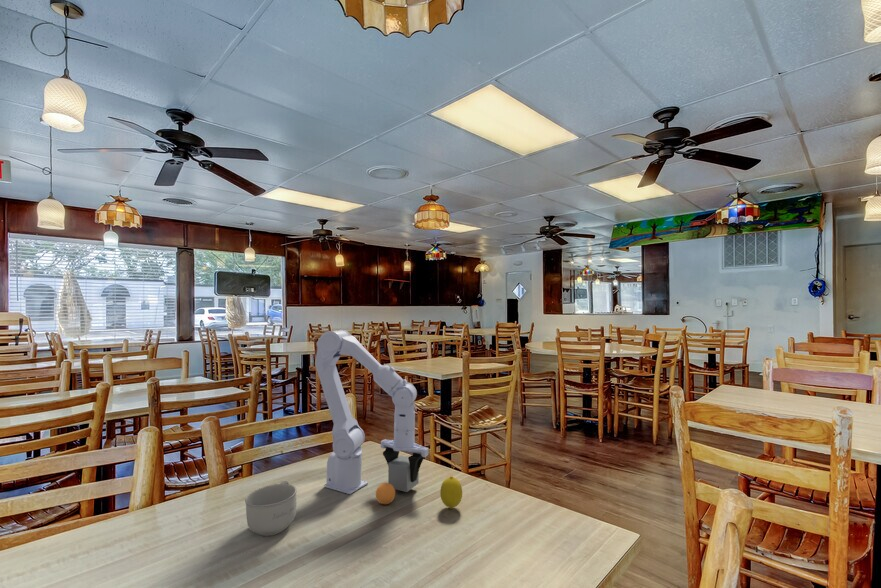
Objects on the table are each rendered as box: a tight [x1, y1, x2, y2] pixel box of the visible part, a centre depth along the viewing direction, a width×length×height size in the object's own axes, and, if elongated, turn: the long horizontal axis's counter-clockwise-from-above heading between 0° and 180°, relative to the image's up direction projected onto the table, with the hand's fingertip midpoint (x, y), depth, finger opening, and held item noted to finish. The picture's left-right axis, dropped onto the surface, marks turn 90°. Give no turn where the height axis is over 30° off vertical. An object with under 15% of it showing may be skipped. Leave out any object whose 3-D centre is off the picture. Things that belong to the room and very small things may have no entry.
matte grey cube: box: [387, 455, 420, 493], centre depth 112 cm, size 6×6×7 cm
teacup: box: [244, 480, 298, 537], centre depth 94 cm, size 14×11×8 cm
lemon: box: [439, 475, 463, 510], centre depth 102 cm, size 6×6×8 cm
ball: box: [375, 482, 396, 505], centre depth 104 cm, size 5×5×5 cm
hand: (403, 478), depth 112 cm, fingers closed on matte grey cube, 6 cm apart
